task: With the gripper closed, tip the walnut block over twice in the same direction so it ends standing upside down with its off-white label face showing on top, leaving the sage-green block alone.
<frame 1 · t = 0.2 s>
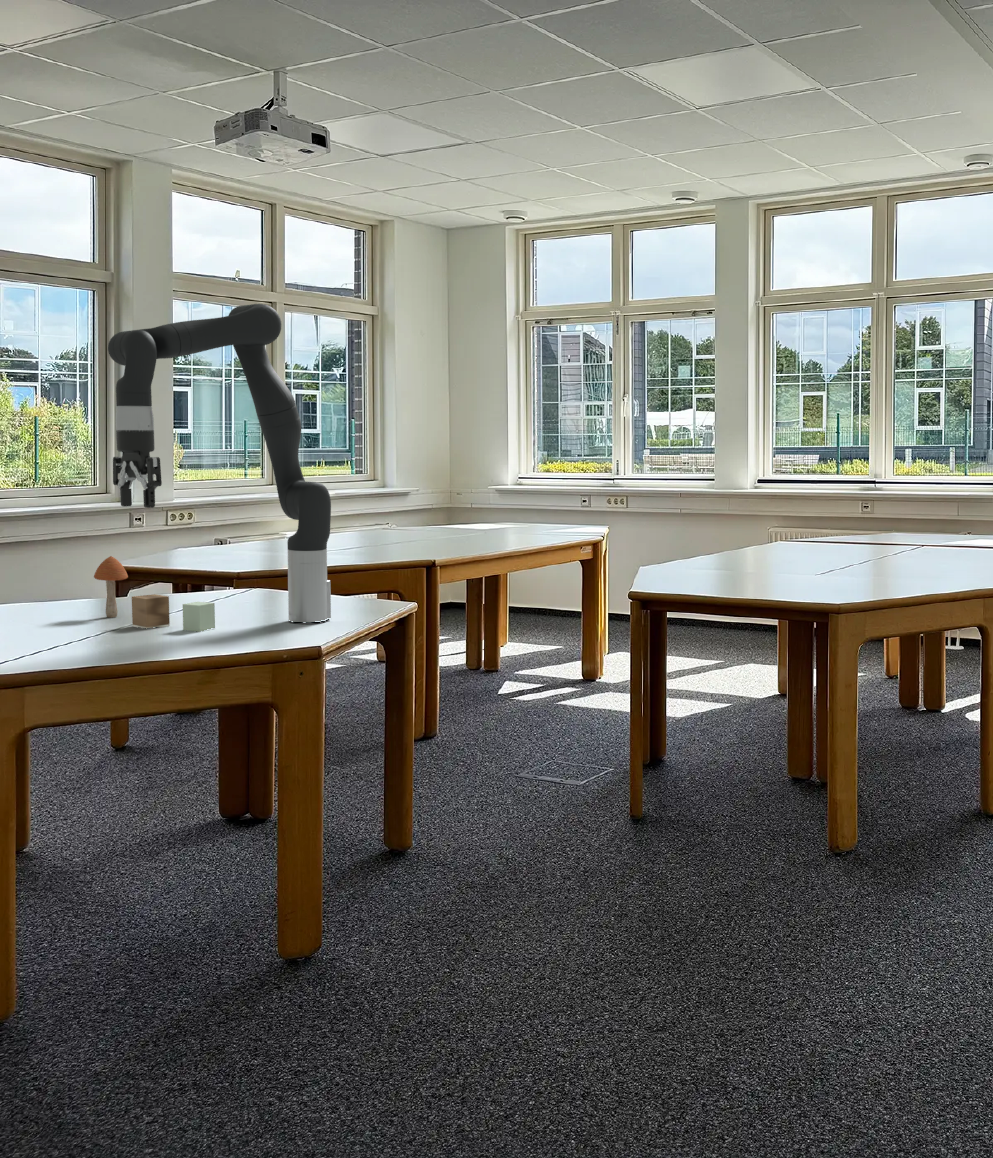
hand: (137, 507, 246), 29 cm above the table, tool pointing down, fingers open, 8 cm apart
sage block: (199, 629, 269), on the table
walnut block: (151, 626, 273), on the table
mushroom: (112, 618, 287), on the table
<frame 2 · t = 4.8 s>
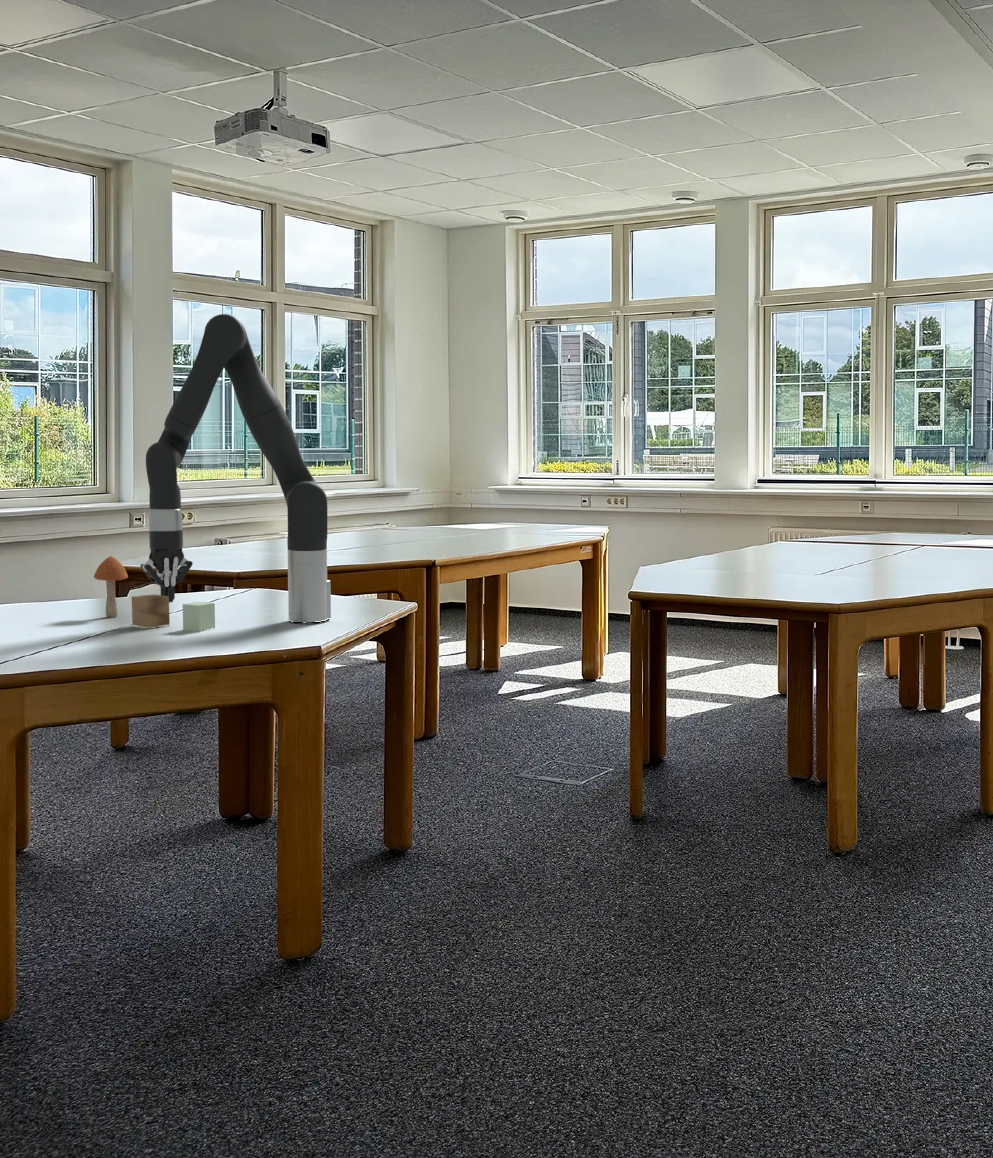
hand: (167, 602, 276), 5 cm above the table, tool pointing down, fingers closed
walnut block: (151, 626, 273), on the table, touching gripper
everything else where it was.
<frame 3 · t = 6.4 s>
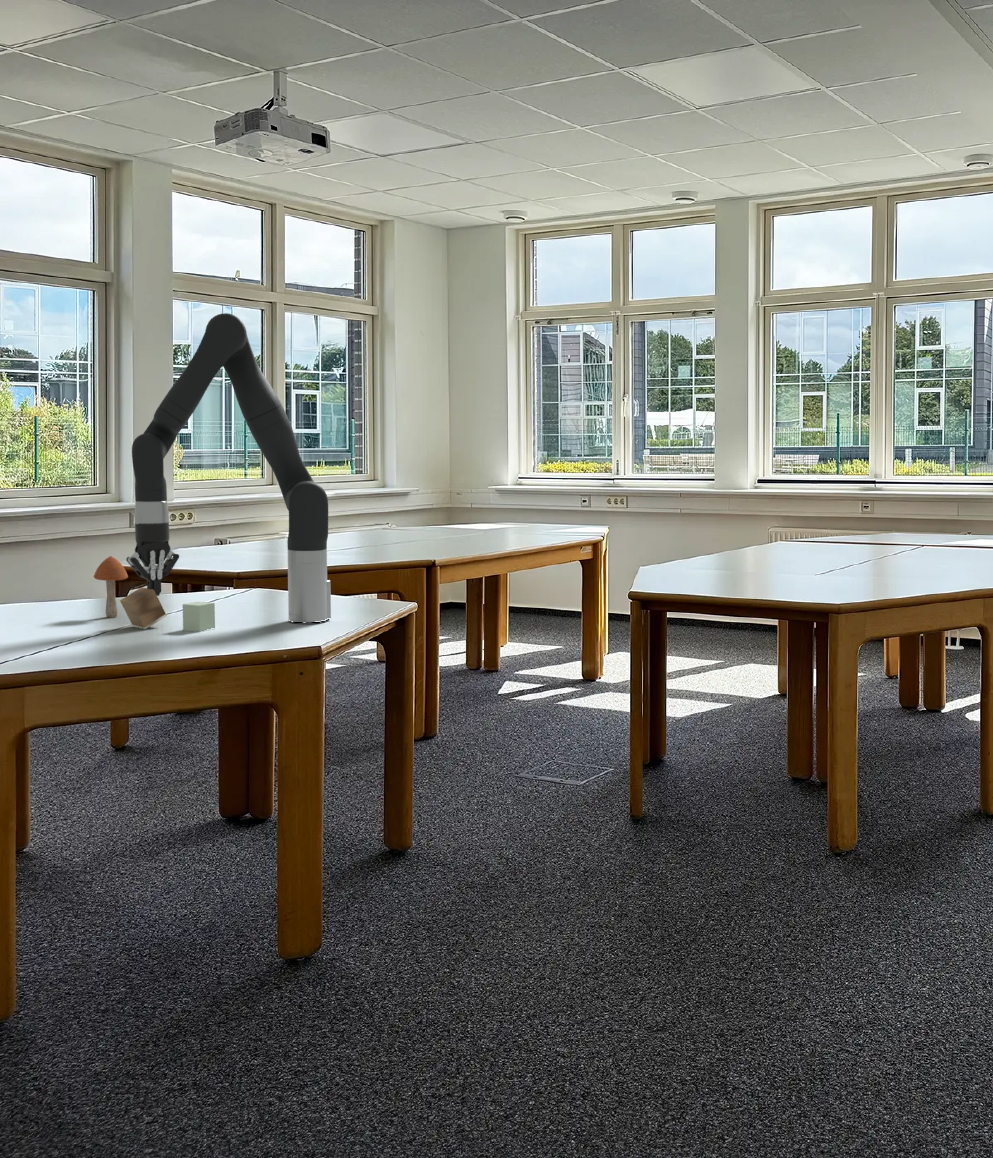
hand: (154, 595, 273), 7 cm above the table, tool pointing down, fingers closed
walnut block: (149, 621, 273), point 1 cm above the table, tilted 26°, touching gripper
everything else where it was.
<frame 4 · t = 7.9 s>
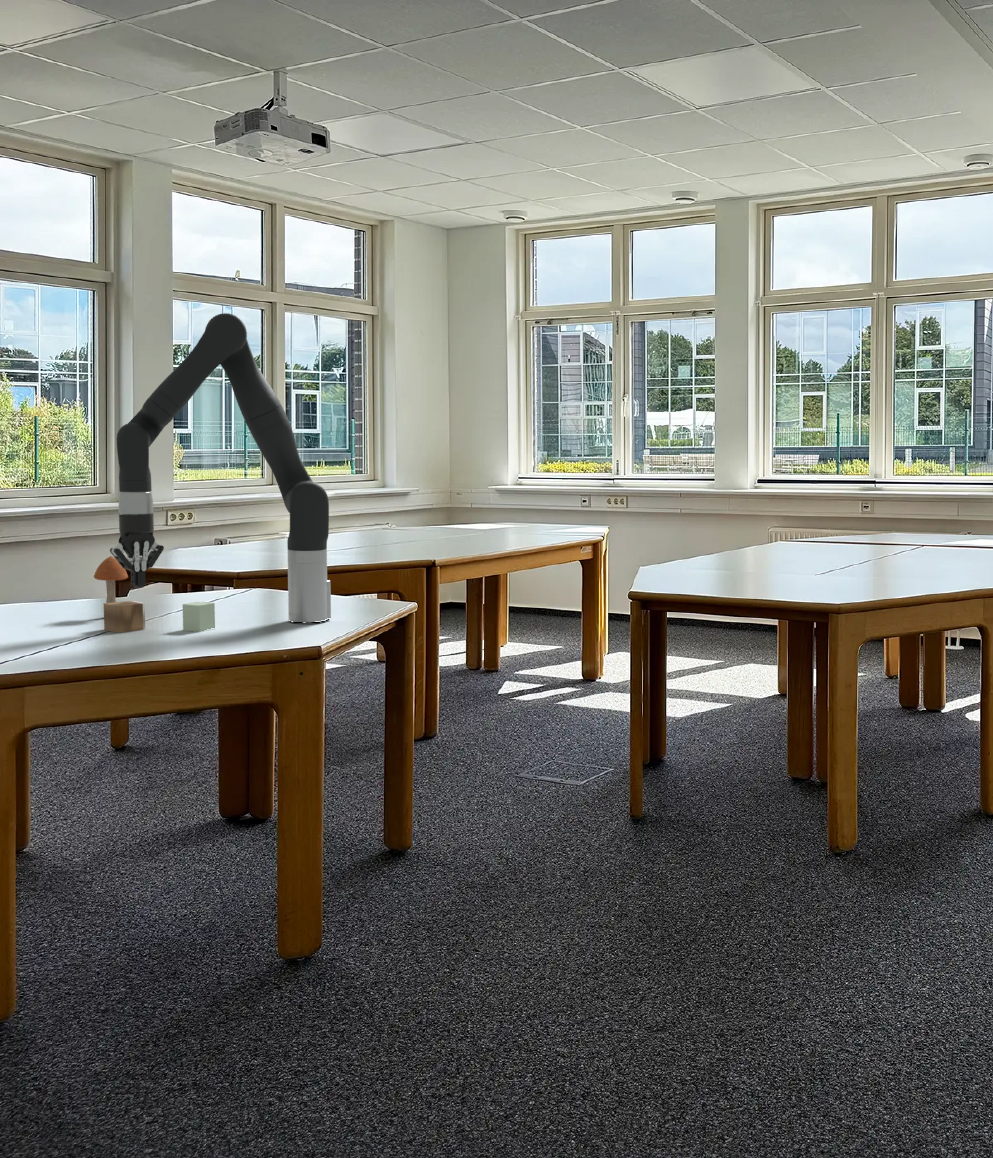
hand: (138, 587, 270), 9 cm above the table, tool pointing down, fingers closed
walnut block: (138, 615, 271), point 3 cm above the table, tilted 90°
everything else where it was.
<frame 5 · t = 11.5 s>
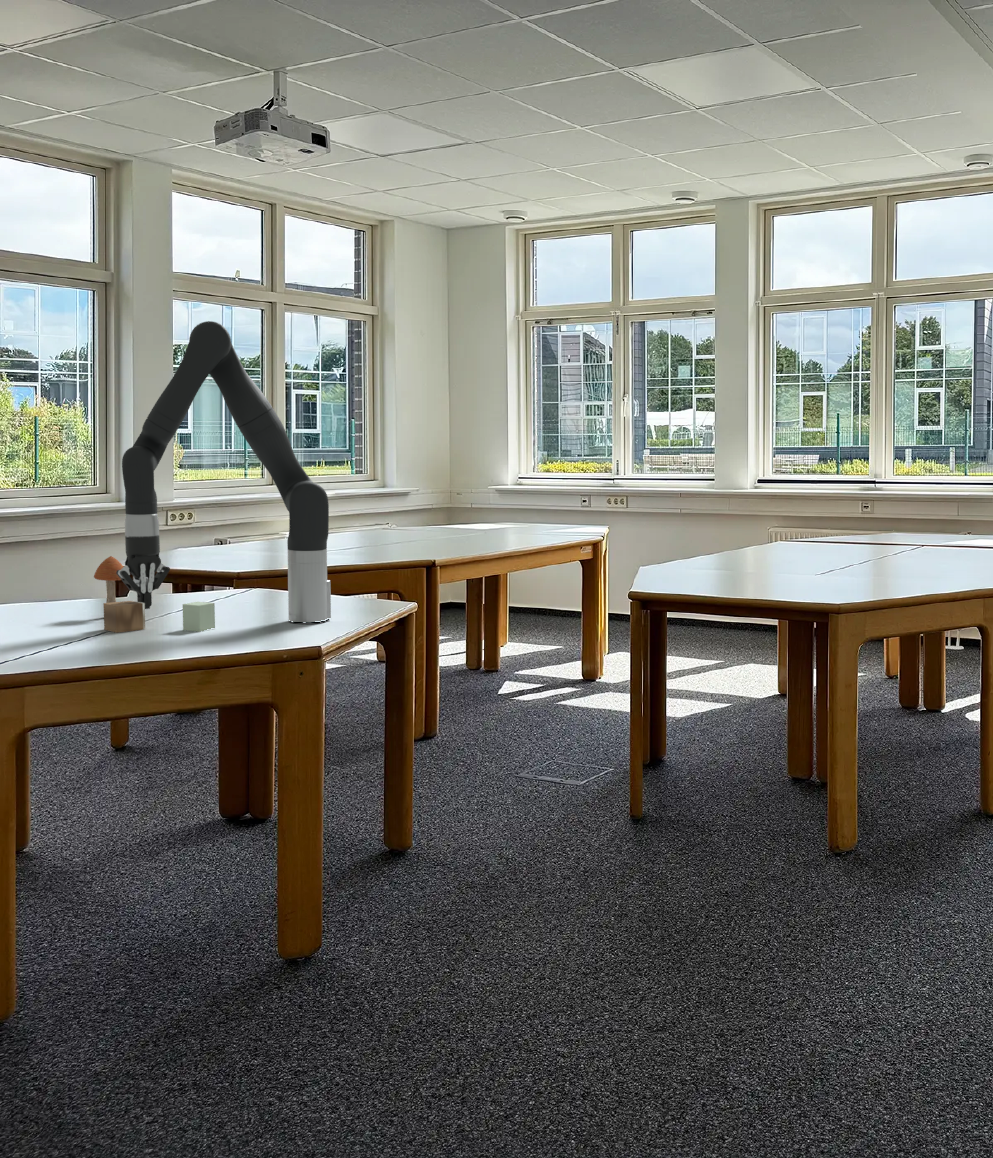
hand: (144, 608, 272), 4 cm above the table, tool pointing down, fingers closed
walnut block: (138, 614, 271), point 3 cm above the table, tilted 90°, touching gripper
everything else where it was.
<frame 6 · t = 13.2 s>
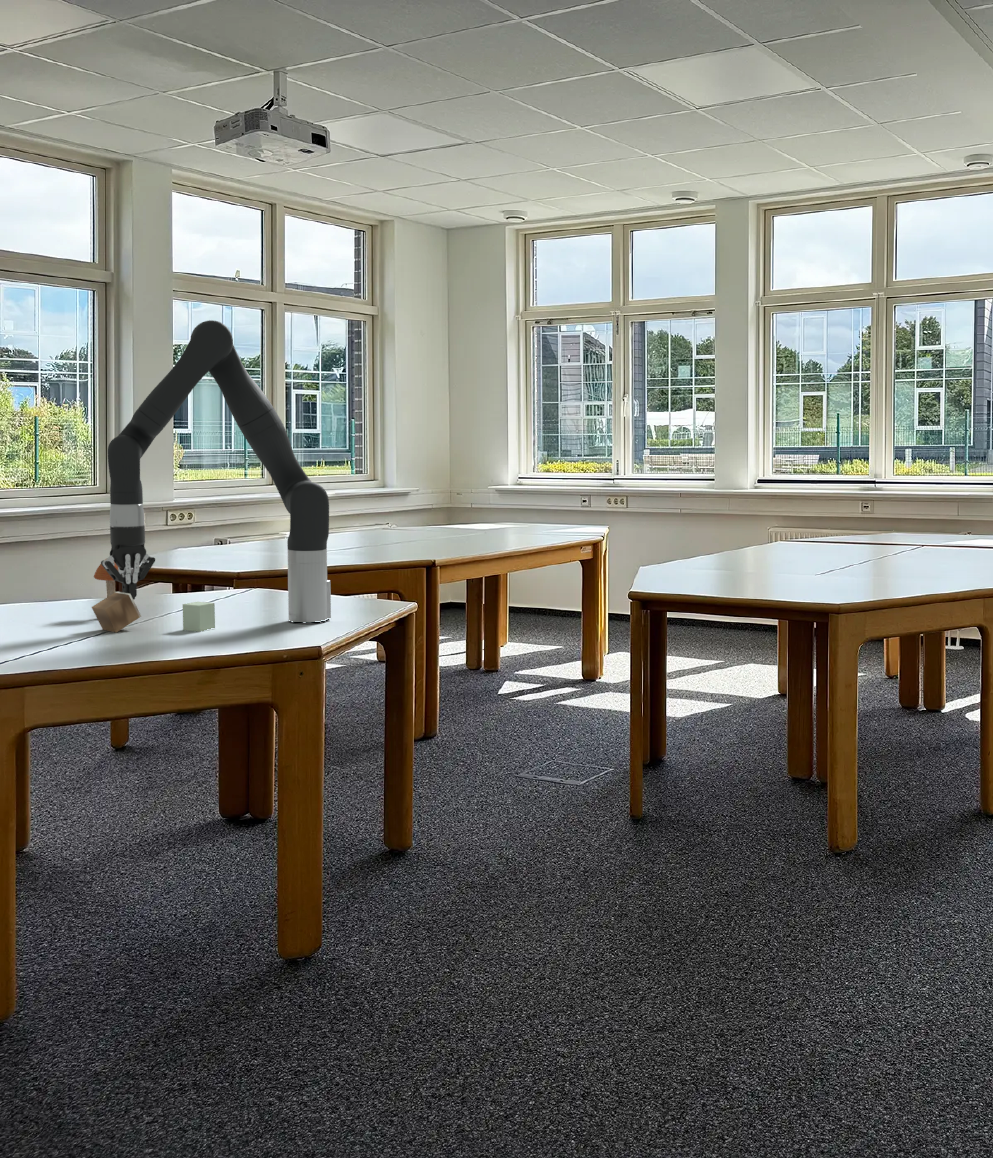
hand: (129, 599, 270), 7 cm above the table, tool pointing down, fingers closed
walnut block: (129, 603, 269), point 6 cm above the table, tilted 116°, touching gripper
everything else where it was.
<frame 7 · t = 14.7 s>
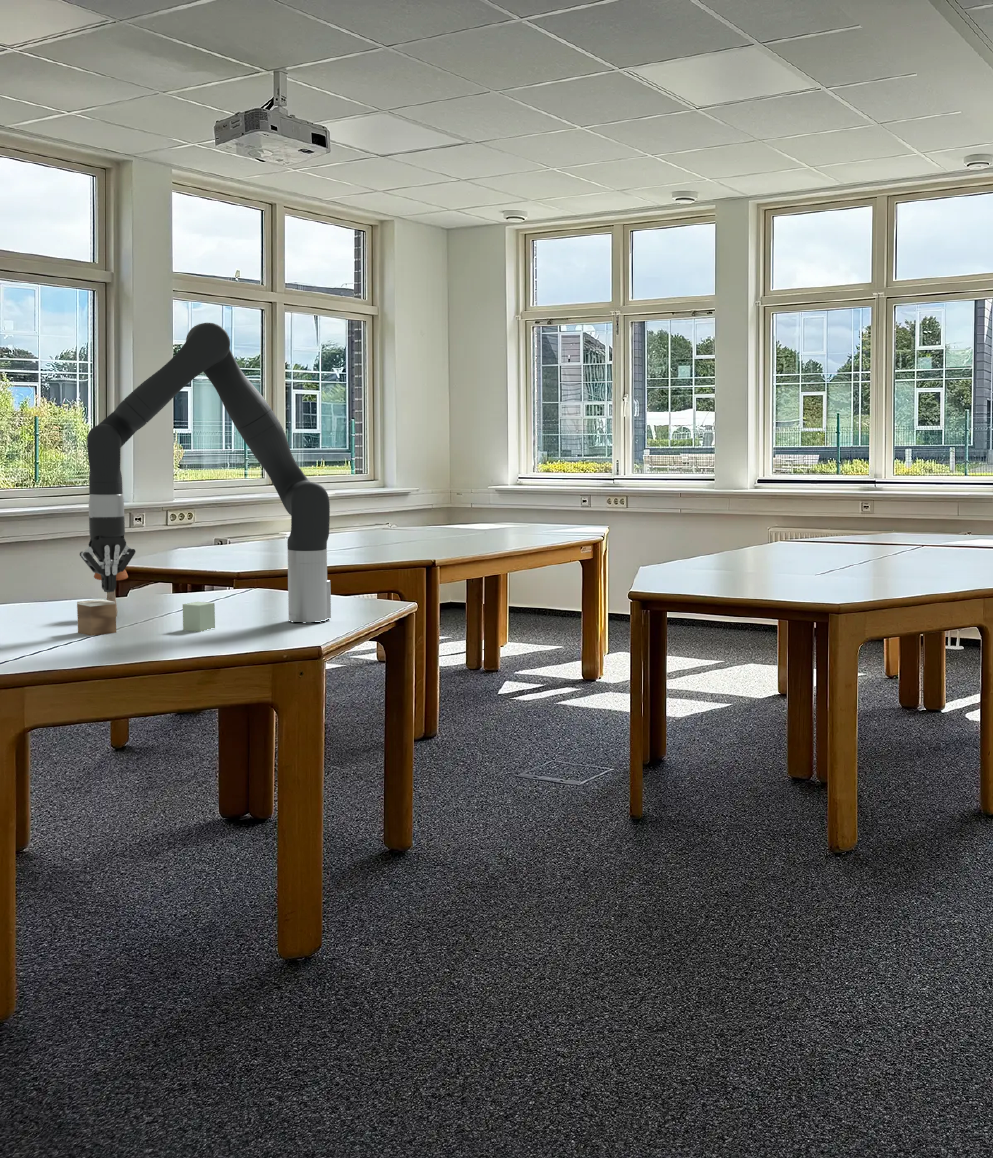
hand: (109, 591, 265), 9 cm above the table, tool pointing down, fingers closed
walnut block: (96, 601, 263), point 7 cm above the table, tilted 180°
everything else where it was.
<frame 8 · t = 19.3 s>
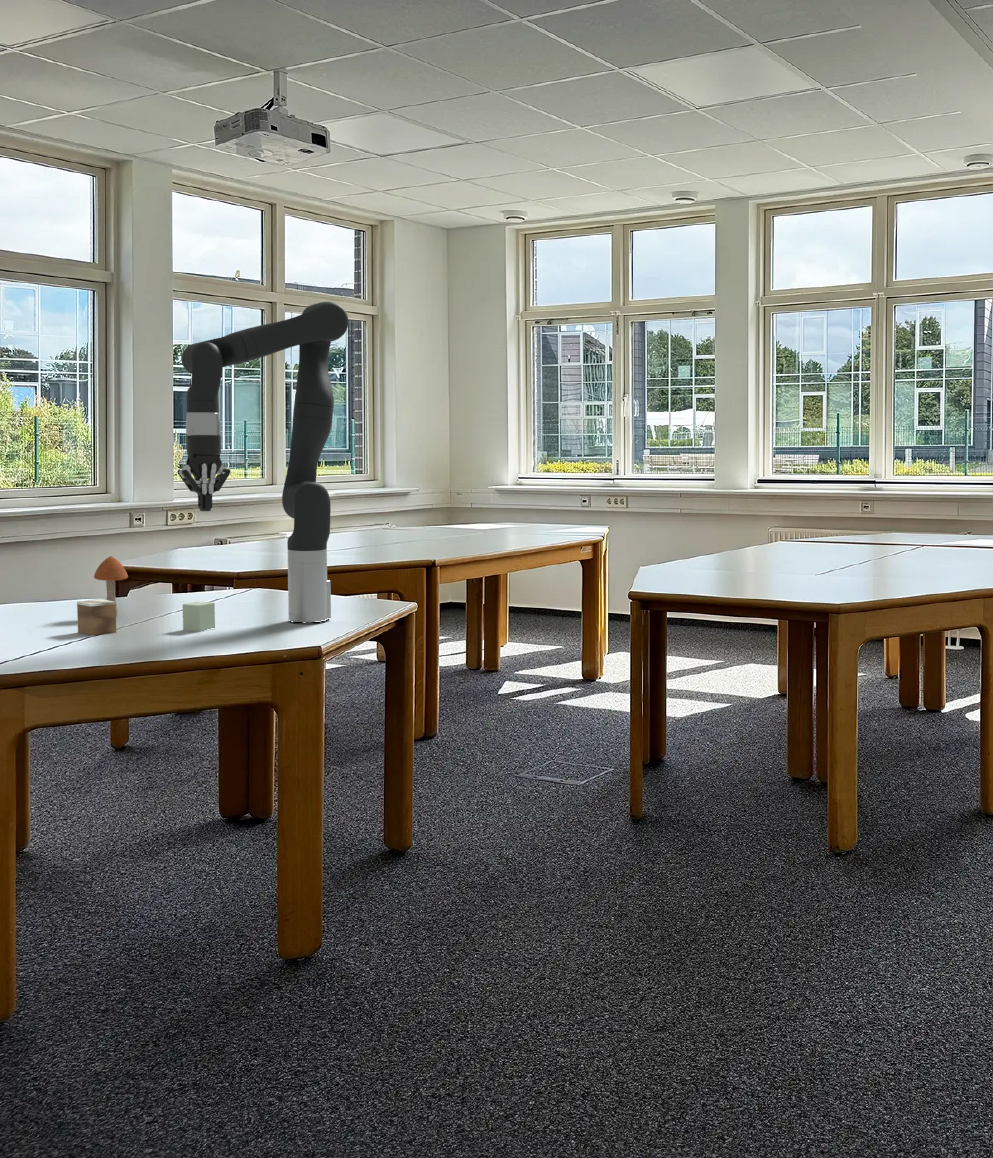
hand: (205, 511, 265), 27 cm above the table, tool pointing down, fingers closed
nothing on the table moved.
at the end: walnut block tilted 180°; walnut block point 6.9 cm above the table; walnut block inside the target area (2.7 cm from its centre), point 6.9 cm above the table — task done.
